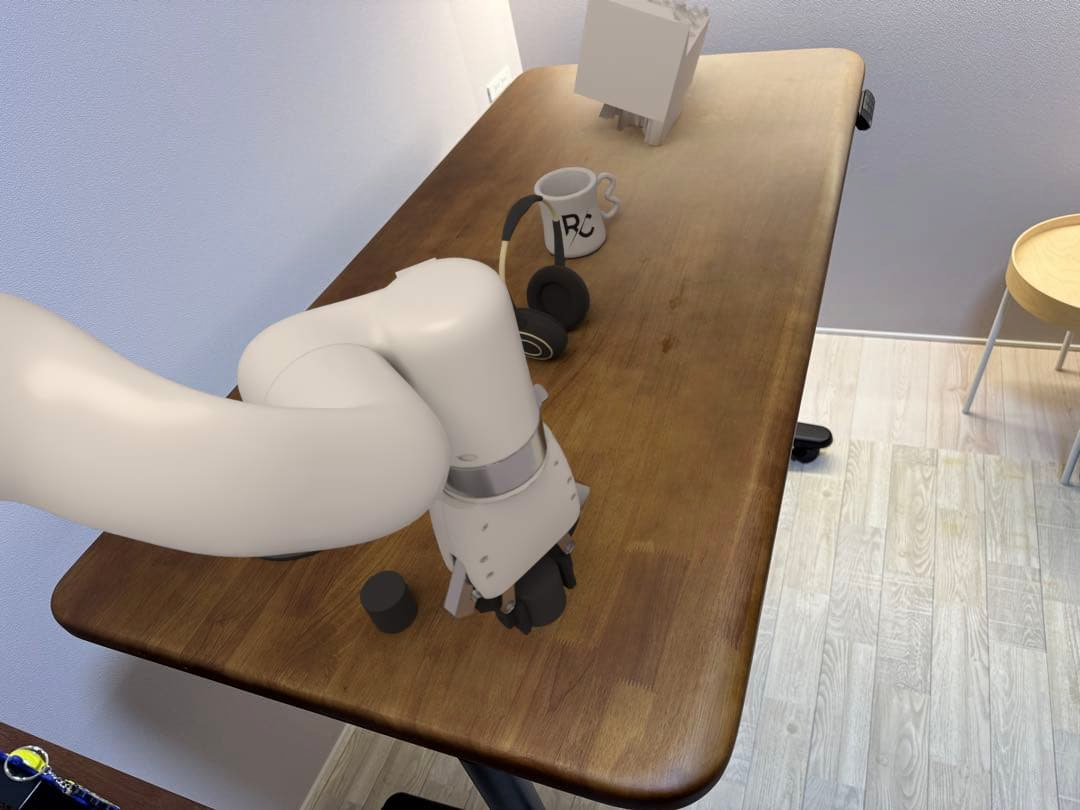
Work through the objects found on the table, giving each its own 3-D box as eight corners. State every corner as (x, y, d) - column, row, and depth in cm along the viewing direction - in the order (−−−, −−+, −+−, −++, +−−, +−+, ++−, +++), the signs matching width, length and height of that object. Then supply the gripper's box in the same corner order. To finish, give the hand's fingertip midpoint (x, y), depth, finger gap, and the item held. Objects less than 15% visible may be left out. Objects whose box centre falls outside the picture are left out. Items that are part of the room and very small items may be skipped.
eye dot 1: (391, 642, 73) (377, 620, 70) (365, 616, 76) (350, 594, 73) (427, 609, 75) (414, 586, 72) (399, 585, 77) (386, 562, 75)
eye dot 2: (540, 638, 60) (530, 610, 57) (501, 607, 63) (490, 579, 60) (578, 598, 62) (570, 569, 59) (539, 570, 64) (530, 541, 62)
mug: (562, 268, 112) (549, 207, 105) (536, 241, 118) (522, 181, 111) (637, 236, 114) (629, 173, 107) (608, 211, 120) (599, 151, 113)
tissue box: (604, 88, 147) (632, -54, 127) (684, 115, 144) (725, -26, 124) (564, 142, 134) (588, -6, 115) (651, 172, 132) (690, 26, 112)
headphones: (497, 373, 98) (454, 237, 84) (546, 302, 106) (515, 168, 93) (558, 384, 94) (524, 244, 80) (604, 309, 103) (580, 171, 89)
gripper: (537, 350, 56) (575, 510, 68) (349, 500, 48) (430, 649, 61) (617, 390, 51) (642, 553, 63) (423, 562, 44) (494, 709, 56)
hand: (538, 598), depth 62 cm, fingers closed on eye dot 2, 4 cm apart
